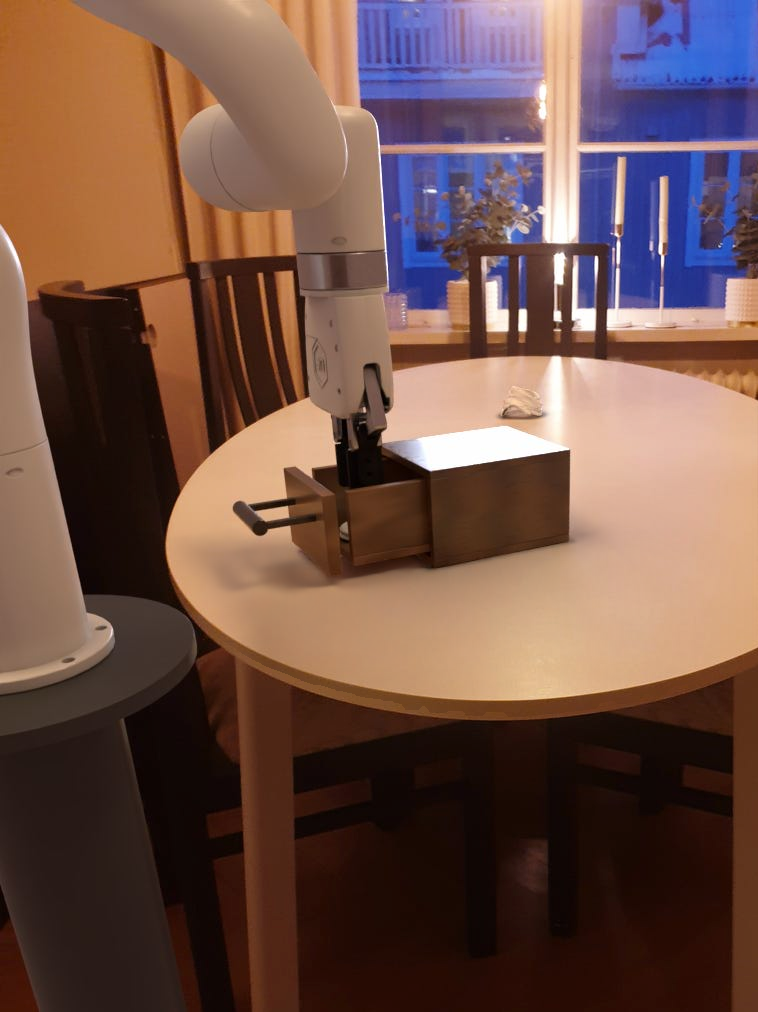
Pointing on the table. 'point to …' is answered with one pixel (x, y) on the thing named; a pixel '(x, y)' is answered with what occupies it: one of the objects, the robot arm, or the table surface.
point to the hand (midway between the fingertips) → (361, 486)
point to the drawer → (349, 516)
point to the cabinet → (489, 492)
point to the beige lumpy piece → (522, 401)
